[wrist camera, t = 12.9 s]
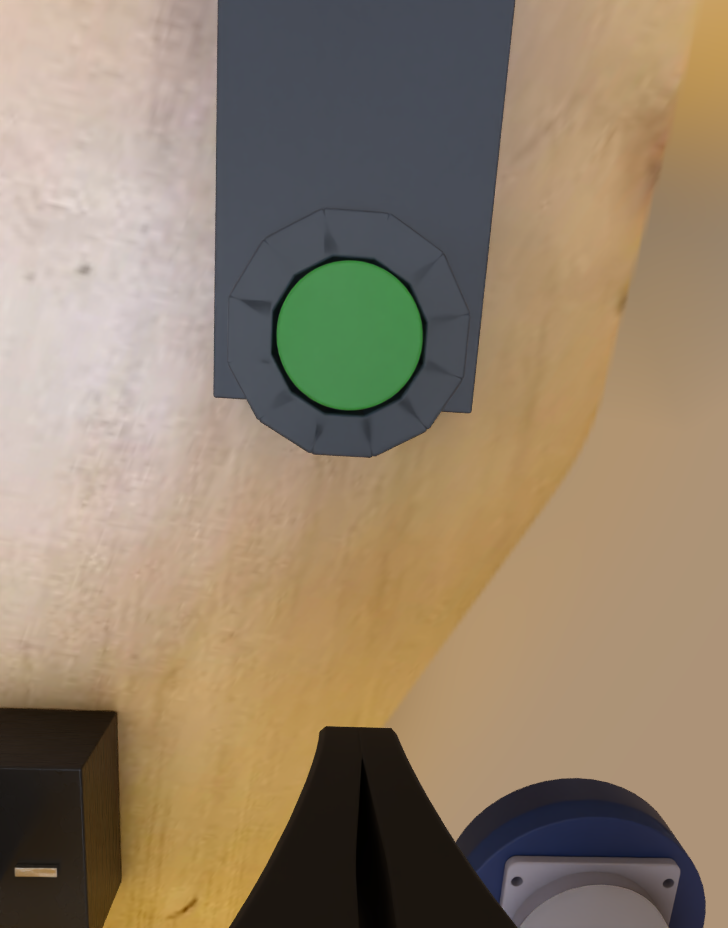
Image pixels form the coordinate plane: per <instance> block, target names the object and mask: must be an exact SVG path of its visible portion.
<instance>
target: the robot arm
mask: <svg viewBox="0 0 728 928" xmlns="http://www.w3.org/2000/svg"><path fill="white" fill-rule="evenodd" d="M514 877H517V878H514ZM679 877H680V869H679V867H678V865H677V864H676V862H675V861H674V860H673V859H670V858H632V857H566V856H513V857H511V858H509V859H508V860H507V861H506V864H505V869H504V876H503V883H502V890H501V897H500V904H499V903H498V902H497V901H496V900H495V898H494V897H493V896H492V894H491V893H490V891H489V890H488V889H487V887H486V886H485V885H484V883H483V882H482V881H481V879H480V878H479V876H478V875H477V874H476V872H475V871H474V869H473V868H472V866H471V865H470V863H469V862H468V860H467V859H466V857H465V856H464V855H463V853H462V852H461V850H460V849H459V847H458V846H457V844H456V843H455V841H454V839H453V838H452V836H451V835H450V833H449V832H448V830H447V829H446V827H445V825H444V824H443V822H442V821H441V818H440V817H439V815H438V814H437V812H436V810H435V809H434V807H433V805H432V803H431V802H430V800H429V798H428V797H427V795H426V793H425V791H424V790H423V788H422V786H421V784H420V782H419V780H418V778H417V777H416V775H415V773H414V771H413V769H412V767H411V765H410V763H409V761H408V759H407V757H406V755H405V753H404V750H403V748H402V746H401V744H400V741H399V739H398V737H397V735H396V733H395V732H394V731H393V730H392V728H366V727H330V726H326V727H325V728H324V729H322V730H321V731H320V732H319V740H318V745H317V749H316V753H315V757H314V760H313V763H312V766H311V769H310V771H309V774H308V777H307V780H306V782H305V785H304V787H303V790H302V792H301V794H300V797H299V799H298V801H297V804H296V806H295V808H294V811H293V813H292V815H291V817H290V820H289V822H288V824H287V826H286V828H285V830H284V832H283V834H282V836H281V838H280V840H279V842H278V843H277V845H276V847H275V849H274V851H273V853H272V855H271V857H270V859H269V861H268V863H267V865H266V867H265V868H264V870H263V872H262V874H261V876H260V877H259V879H258V881H257V883H256V884H255V886H254V888H253V890H252V891H251V893H250V895H249V896H248V898H247V900H246V901H245V903H244V904H243V906H242V908H241V909H240V911H239V913H238V914H237V916H236V918H235V919H234V921H233V922H232V924H231V925H230V927H229V928H669V922H670V918H671V913H672V909H673V904H674V900H675V895H676V891H677V886H678V882H679Z"/></svg>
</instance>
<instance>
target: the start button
mask: <svg viewBox="0 0 728 928" xmlns="http://www.w3.org/2000/svg"><path fill="white" fill-rule="evenodd" d="M276 334H277V347H278V353H279V356H280V359H281V362H282V365H283V367H284V369H285V371H286V373H287V374H288V376H289V378H290V379H291V380H292V382H293V383H294V384H295V386H296V387H297V388H298V389H299V390H300V391H301V392H302V393H304V394H305V395H306V396H308V397H309V398H310V399H312V400H314V401H316V402H317V403H319V404H322V405H324V406H327V407H330V408H334V409H339V410H362V409H367V408H370V407H374V406H376V405H379V404H381V403H383V402H385V401H386V400H388V399H390V398H391V397H392V396H394V395H395V394H396V393H398V392H399V391H400V390H401V389H402V388H403V387H404V386H405V384H406V383H407V382H408V380H409V379H410V378H411V376H412V374H413V372H414V371H415V369H416V366H417V364H418V362H419V358H420V355H421V350H422V344H423V329H422V321H421V317H420V313H419V310H418V308H417V305H416V303H415V301H414V299H413V297H412V295H411V294H410V293H409V291H408V290H407V288H406V287H405V286H404V285H403V284H402V283H401V282H400V281H399V280H398V279H397V278H396V277H395V276H393V275H392V274H391V273H389V272H388V271H386V270H385V269H383V268H381V267H378V266H376V265H374V264H370V263H367V262H363V261H356V260H343V261H335V262H332V263H328V264H325V265H322V266H320V267H318V268H316V269H314V270H313V271H311V272H309V273H308V274H306V275H305V276H304V277H303V278H301V279H300V280H299V281H298V282H297V284H296V285H295V286H294V287H293V288H292V290H291V291H290V292H289V294H288V295H287V297H286V299H285V301H284V303H283V305H282V308H281V311H280V313H279V318H278V322H277V332H276Z"/></svg>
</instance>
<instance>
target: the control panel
mask: <svg viewBox="0 0 728 928" xmlns="http://www.w3.org/2000/svg"><path fill="white" fill-rule="evenodd" d="M120 883H121V865H120V829H119V793H118V756H117V720H116V712H106V711H72V710H37V709H3V708H0V928H102V927H103V925H104V922H105V920H106V918H107V915H108V913H109V910H110V908H111V905H112V903H113V900H114V898H115V896H116V893H117V891H118V888H119V886H120Z"/></svg>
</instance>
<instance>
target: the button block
mask: <svg viewBox="0 0 728 928" xmlns="http://www.w3.org/2000/svg"><path fill="white" fill-rule="evenodd" d="M514 7H515V0H218V33H217V122H216V212H215V302H214V392H213V395H214V397H216V398H231V399H247V401H248V403H249V405H250V407H251V409H252V410H253V412H254V414H255V416H256V418H257V419H258V420H260V422H261V423H263V424H264V425H266V426H268V427H269V428H271V429H272V430H274V431H275V432H277V433H279V434H280V435H282V436H283V437H285V438H286V439H288V440H290V441H291V442H293V443H294V444H296V445H297V446H299V447H300V448H302V449H304V450H305V451H307V452H308V453H312V454H314V455H332V456H350V457H367V458H370V457H372V456H377V455H379V454H381V453H383V452H385V451H387V450H389V449H392V448H394V447H396V446H398V445H400V444H402V443H404V442H406V441H408V440H410V439H412V438H414V437H416V436H418V435H420V434H422V433H424V432H425V431H426V430H427V429H429V428H430V427H431V426H432V424H433V423H434V421H435V420H436V418H437V417H438V416H439V414H440V413H441V412H456V413H471V411H472V402H473V392H474V383H475V373H476V364H477V355H478V345H479V336H480V326H481V317H482V308H483V298H484V289H485V279H486V270H487V261H488V251H489V242H490V232H491V223H492V214H493V204H494V195H495V185H496V176H497V167H498V157H499V148H500V139H501V129H502V120H503V110H504V101H505V92H506V82H507V73H508V63H509V54H510V45H511V35H512V26H513V16H514ZM343 260H356V261H363V262H367V263H370V264H374V265H376V266H378V267H381V268H383V269H385V270H386V271H388V272H389V273H391V274H392V275H393V276H395V277H396V278H397V279H398V280H399V281H400V282H401V283H402V284H403V285H404V286H405V287H406V288H407V290H408V291H409V293H410V294H411V295H412V297H413V299H414V301H415V303H416V305H417V308H418V310H419V313H420V317H421V321H422V329H423V344H422V350H421V355H420V358H419V362H418V364H417V366H416V369H415V371H414V372H413V374H412V376H411V378H410V379H409V380H408V382H407V383H406V384H405V386H404V387H403V388H402V389H401V390H400V391H399V392H398V393H396V394H395V395H394V396H392V397H391V398H390V399H388V400H386V401H385V402H383V403H381V404H379V405H376V406H374V407H370V408H367V409H362V410H339V409H334V408H330V407H326V406H324V405H322V404H319V403H317V402H316V401H314V400H312V399H310V398H309V397H308V396H306V395H305V394H304V393H302V392H301V391H300V390H299V389H298V388H297V387H296V386H295V384H294V383H293V382H292V380H291V379H290V378H289V376H288V374H287V373H286V371H285V369H284V367H283V365H282V362H281V359H280V356H279V353H278V347H277V334H276V332H277V322H278V318H279V313H280V311H281V308H282V305H283V303H284V301H285V299H286V297H287V295H288V294H289V292H290V291H291V290H292V288H293V287H294V286H295V285H296V284H297V282H298V281H299V280H300V279H301V278H303V277H304V276H305V275H306V274H308V273H309V272H311V271H313V270H314V269H316V268H318V267H320V266H322V265H325V264H328V263H332V262H335V261H343Z"/></svg>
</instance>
